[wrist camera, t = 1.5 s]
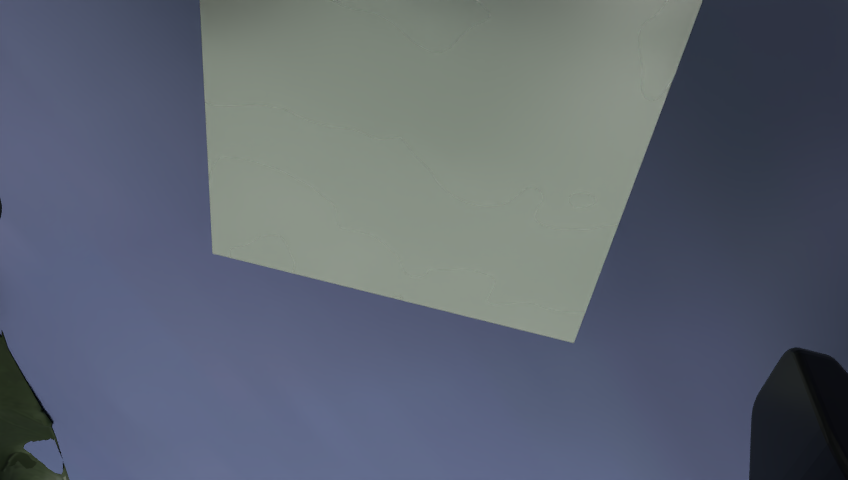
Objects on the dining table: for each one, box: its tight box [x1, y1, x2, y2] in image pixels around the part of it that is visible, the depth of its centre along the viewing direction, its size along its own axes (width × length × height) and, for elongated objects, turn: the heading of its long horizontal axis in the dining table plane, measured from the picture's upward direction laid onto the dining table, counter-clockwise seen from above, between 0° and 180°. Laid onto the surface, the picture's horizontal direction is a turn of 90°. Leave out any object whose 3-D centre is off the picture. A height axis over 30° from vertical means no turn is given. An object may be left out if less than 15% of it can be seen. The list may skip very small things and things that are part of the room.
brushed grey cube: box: [200, 0, 703, 343], centre depth 13 cm, size 6×6×6 cm
